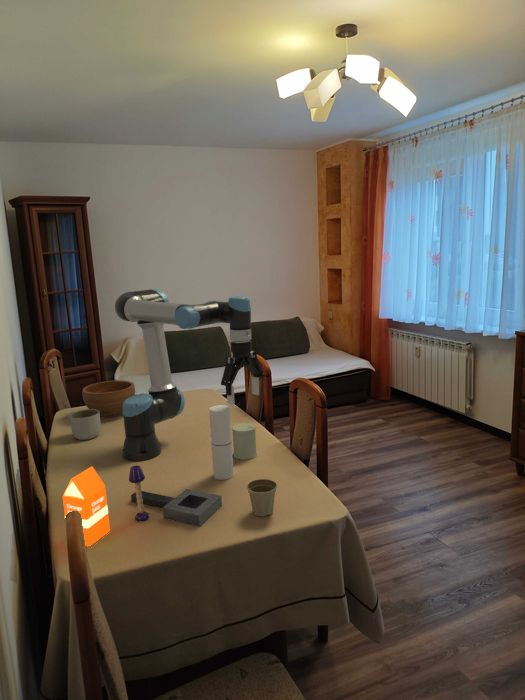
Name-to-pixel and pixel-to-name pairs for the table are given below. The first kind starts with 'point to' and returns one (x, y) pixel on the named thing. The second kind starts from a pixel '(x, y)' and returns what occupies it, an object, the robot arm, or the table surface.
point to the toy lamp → (138, 491)
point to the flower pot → (262, 496)
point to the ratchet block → (184, 505)
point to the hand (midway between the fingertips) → (243, 399)
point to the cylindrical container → (221, 442)
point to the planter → (85, 424)
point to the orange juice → (88, 504)
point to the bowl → (108, 396)
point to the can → (244, 441)
